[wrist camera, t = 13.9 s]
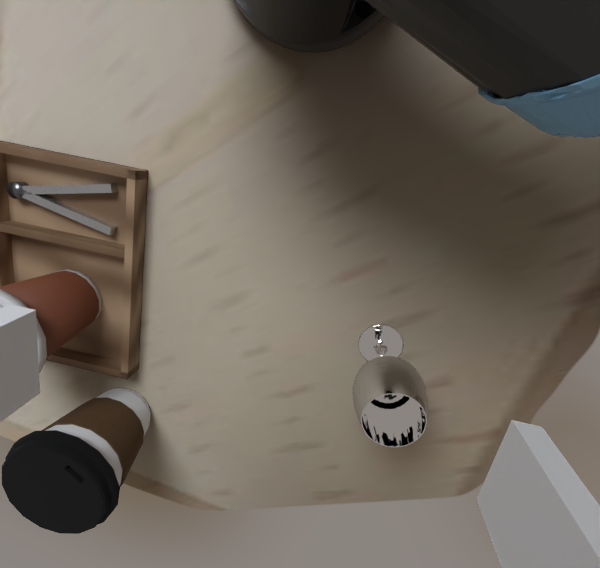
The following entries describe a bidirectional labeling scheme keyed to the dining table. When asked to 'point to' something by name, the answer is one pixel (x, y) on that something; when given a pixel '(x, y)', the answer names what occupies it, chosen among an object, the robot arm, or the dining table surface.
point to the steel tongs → (37, 196)
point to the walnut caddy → (80, 247)
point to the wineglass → (388, 390)
